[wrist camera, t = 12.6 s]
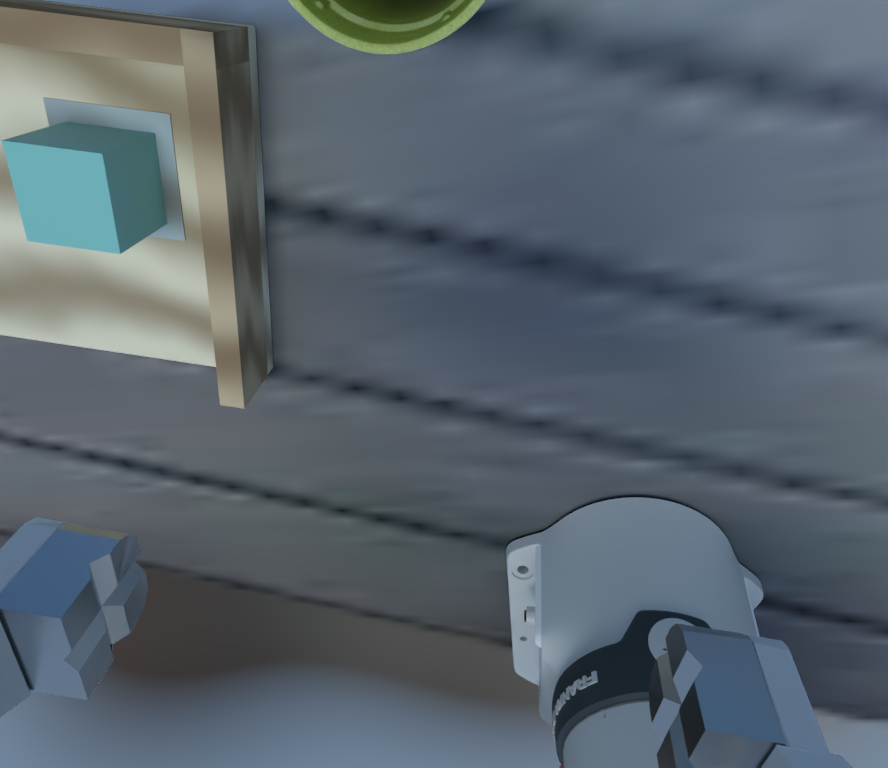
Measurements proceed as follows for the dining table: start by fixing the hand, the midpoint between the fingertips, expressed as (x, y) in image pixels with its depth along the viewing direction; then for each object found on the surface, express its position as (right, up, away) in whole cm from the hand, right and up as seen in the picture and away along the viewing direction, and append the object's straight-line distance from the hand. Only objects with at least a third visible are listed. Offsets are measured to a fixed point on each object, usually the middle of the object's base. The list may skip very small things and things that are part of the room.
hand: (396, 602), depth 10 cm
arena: (-20, +14, +28) cm, 37 cm away
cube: (-18, +15, +26) cm, 35 cm away
